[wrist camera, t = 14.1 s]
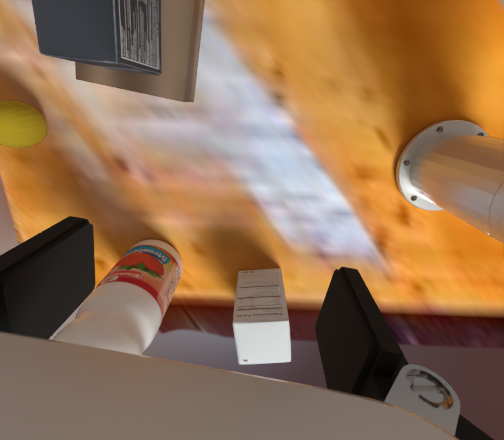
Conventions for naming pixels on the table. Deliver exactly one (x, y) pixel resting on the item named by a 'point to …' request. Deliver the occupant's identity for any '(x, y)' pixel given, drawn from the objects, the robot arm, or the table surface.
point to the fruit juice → (128, 300)
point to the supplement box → (261, 317)
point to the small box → (102, 32)
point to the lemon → (20, 125)
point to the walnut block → (162, 56)
